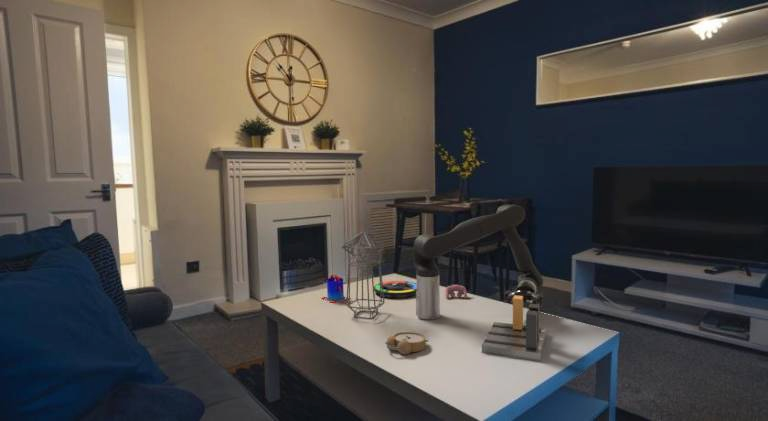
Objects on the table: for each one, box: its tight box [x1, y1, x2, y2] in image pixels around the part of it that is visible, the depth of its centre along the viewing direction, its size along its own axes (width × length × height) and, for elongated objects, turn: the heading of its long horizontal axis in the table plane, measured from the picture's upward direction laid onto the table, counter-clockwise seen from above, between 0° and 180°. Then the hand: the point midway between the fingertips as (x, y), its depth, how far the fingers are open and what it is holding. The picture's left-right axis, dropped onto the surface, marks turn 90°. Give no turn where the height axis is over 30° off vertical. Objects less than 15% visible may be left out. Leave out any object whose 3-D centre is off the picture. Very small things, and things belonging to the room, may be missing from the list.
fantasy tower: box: [320, 274, 352, 305], centre depth 203 cm, size 12×12×12 cm
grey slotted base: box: [481, 303, 547, 362], centre depth 146 cm, size 18×23×14 cm
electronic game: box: [374, 280, 417, 299], centre depth 212 cm, size 23×23×5 cm
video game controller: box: [444, 284, 468, 300], centre depth 201 cm, size 10×5×7 cm, turn 85°
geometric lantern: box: [340, 231, 388, 320], centre depth 179 cm, size 16×16×35 cm
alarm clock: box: [385, 331, 429, 356], centre depth 145 cm, size 11×5×15 cm
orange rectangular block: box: [512, 295, 524, 330], centre depth 153 cm, size 3×4×11 cm
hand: (521, 302), depth 163 cm, fingers open, 8 cm apart
